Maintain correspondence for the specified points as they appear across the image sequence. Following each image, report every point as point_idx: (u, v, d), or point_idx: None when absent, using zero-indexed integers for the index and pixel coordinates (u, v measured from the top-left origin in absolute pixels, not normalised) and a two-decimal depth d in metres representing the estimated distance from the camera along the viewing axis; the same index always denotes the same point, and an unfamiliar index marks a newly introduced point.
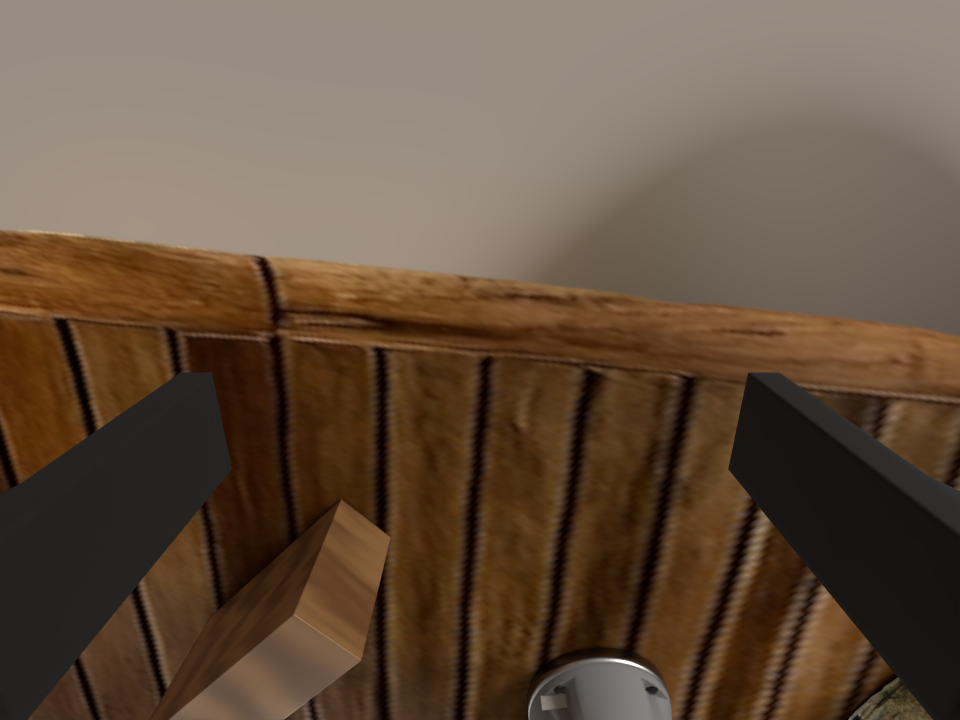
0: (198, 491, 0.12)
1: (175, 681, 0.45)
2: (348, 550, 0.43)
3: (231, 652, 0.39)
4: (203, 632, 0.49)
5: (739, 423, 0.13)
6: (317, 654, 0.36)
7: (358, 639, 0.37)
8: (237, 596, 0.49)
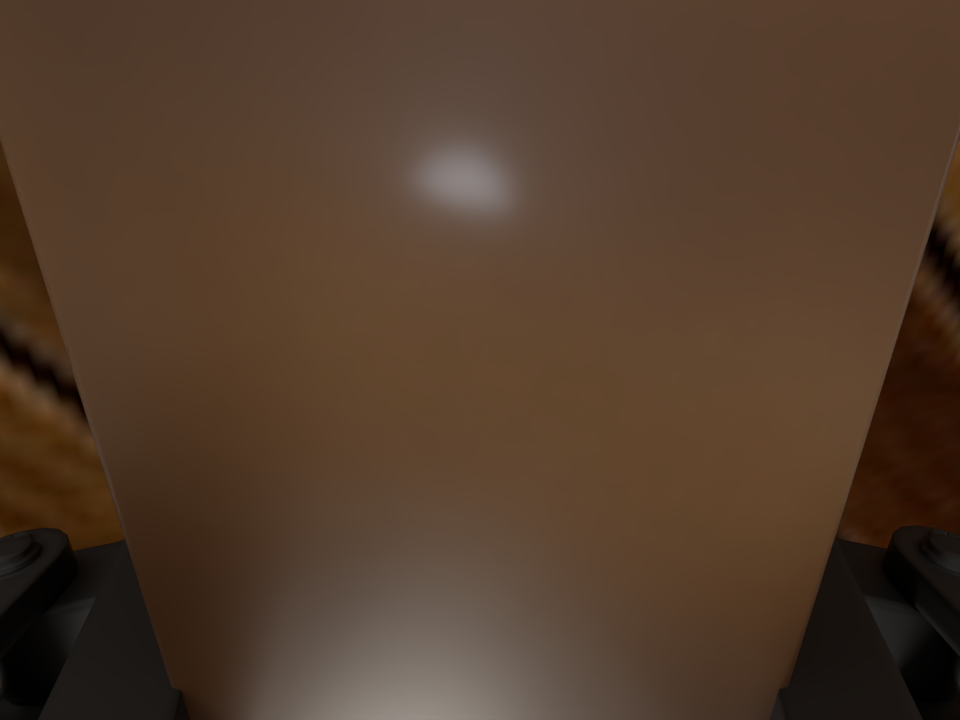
0: None
1: None
2: None
3: None
4: None
5: None
6: None
7: None
8: None
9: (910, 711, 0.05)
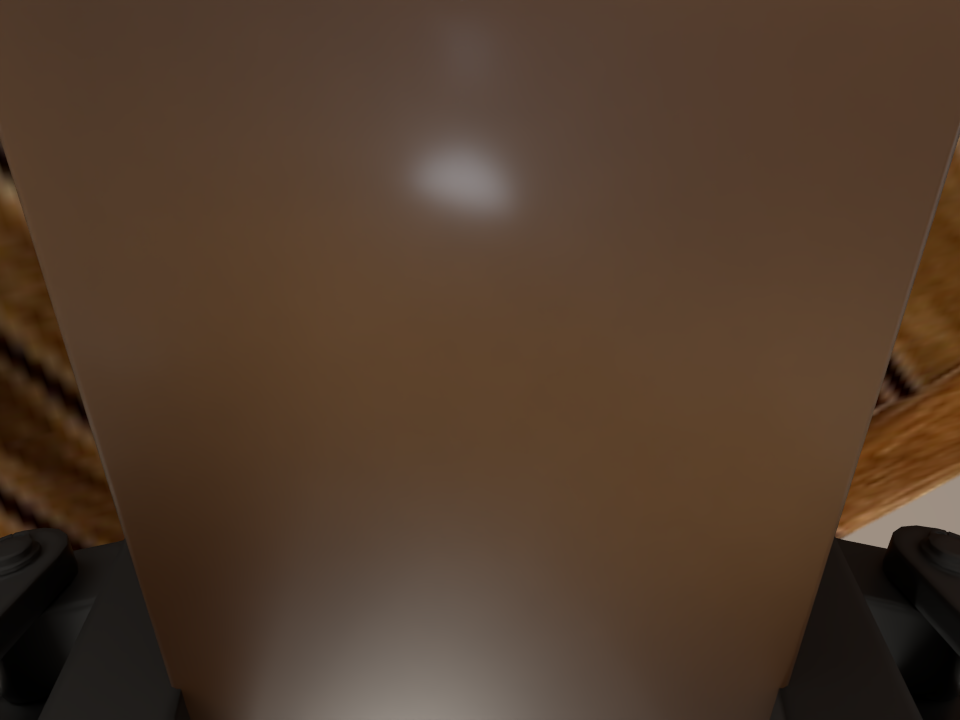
0: None
1: None
2: None
3: None
4: None
5: None
6: None
7: None
8: None
9: (910, 711, 0.05)
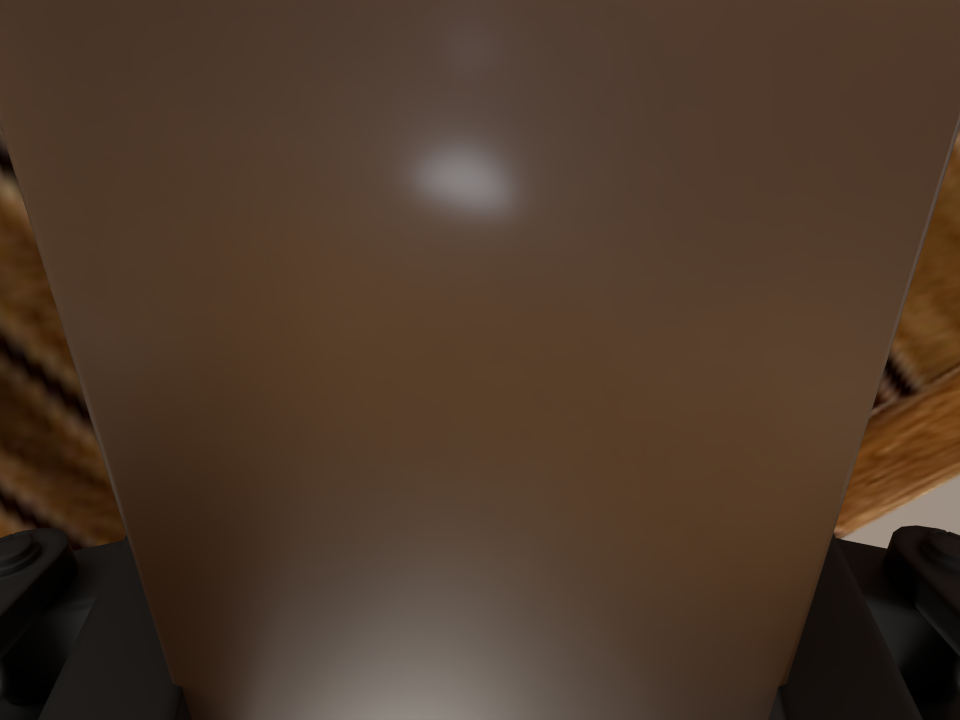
0: None
1: None
2: None
3: None
4: None
5: None
6: None
7: None
8: None
9: (910, 711, 0.05)
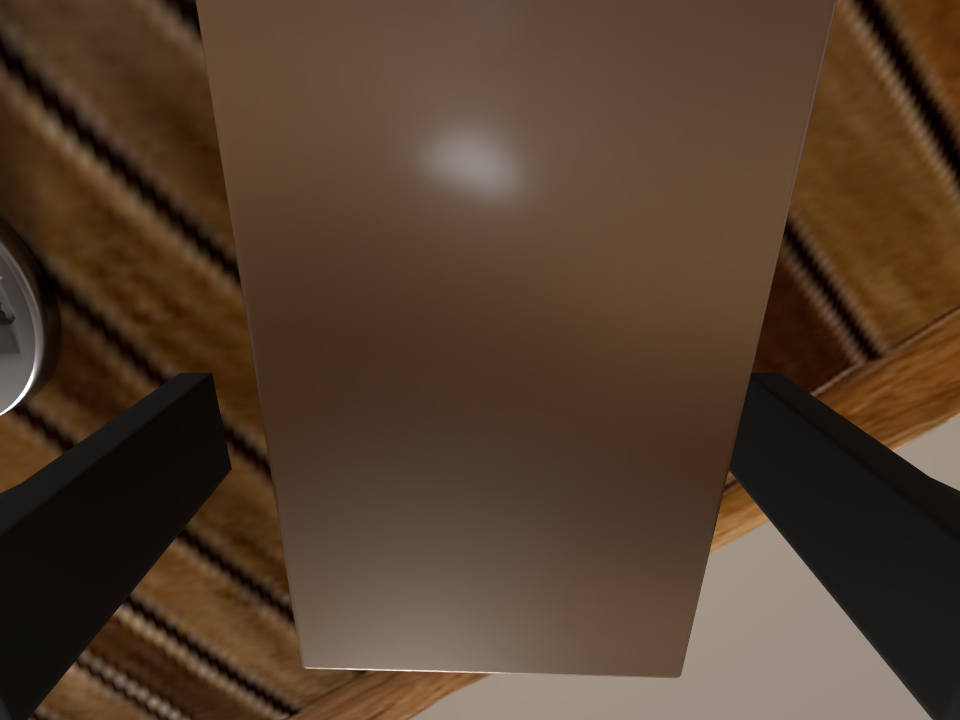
0: (198, 491, 0.12)
1: None
2: None
3: None
4: None
5: (739, 423, 0.13)
6: (460, 590, 0.07)
7: None
8: None
9: None
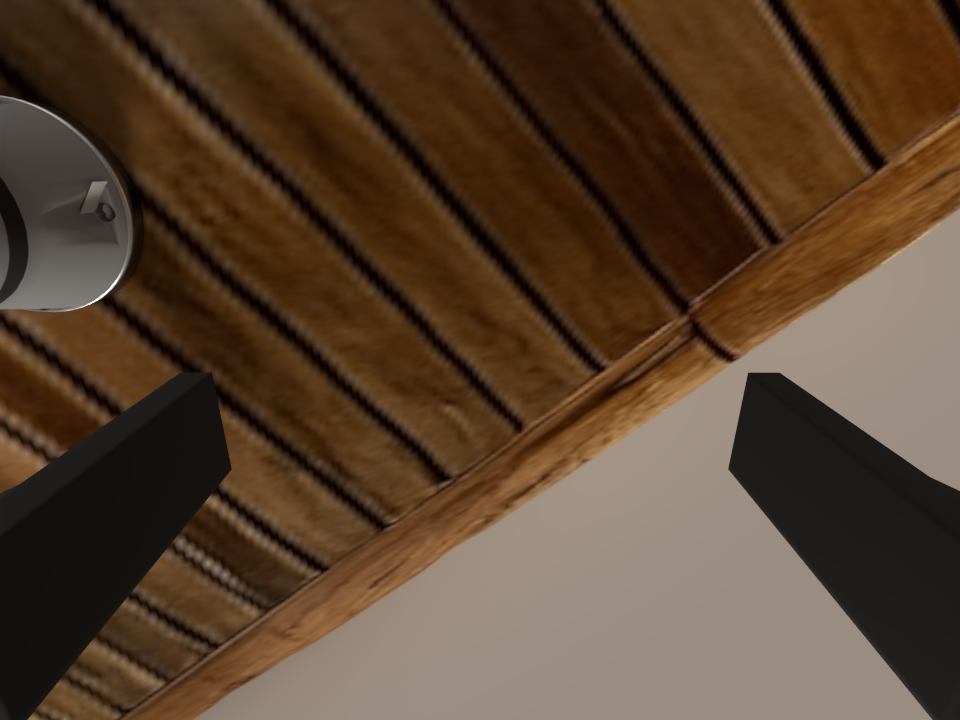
0: (198, 491, 0.12)
1: None
2: None
3: None
4: None
5: (739, 423, 0.13)
6: None
7: None
8: None
9: None
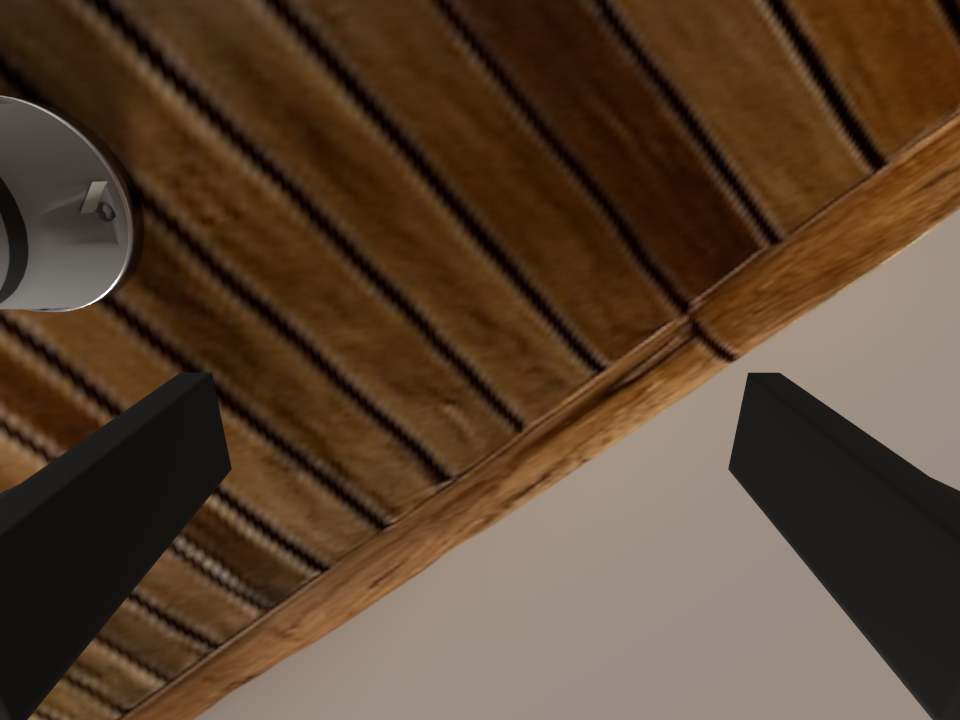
0: (198, 491, 0.12)
1: None
2: None
3: None
4: None
5: (739, 423, 0.13)
6: None
7: None
8: None
9: None
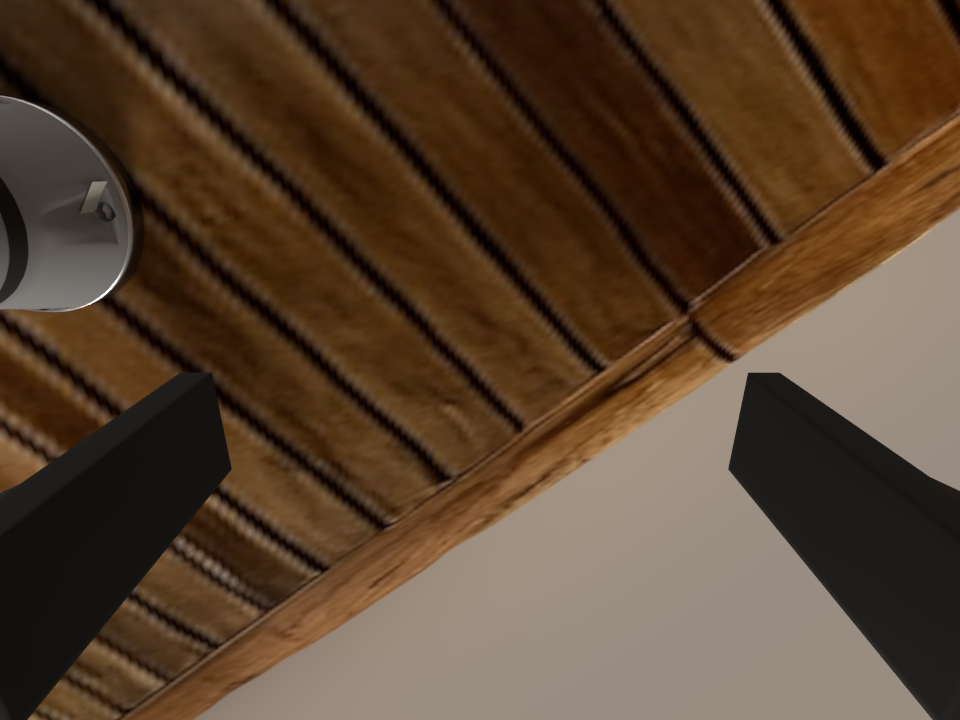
0: (198, 491, 0.12)
1: None
2: None
3: None
4: None
5: (739, 423, 0.13)
6: None
7: None
8: None
9: None
